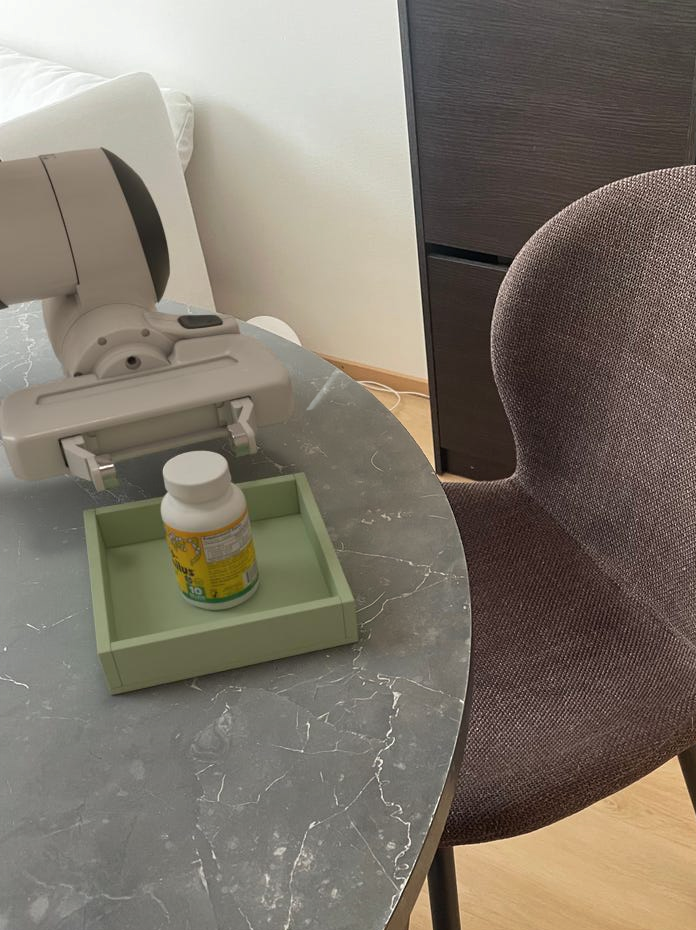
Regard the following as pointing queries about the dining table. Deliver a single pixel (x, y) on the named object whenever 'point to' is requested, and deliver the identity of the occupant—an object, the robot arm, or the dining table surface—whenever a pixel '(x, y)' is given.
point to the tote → (214, 631)
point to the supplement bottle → (208, 531)
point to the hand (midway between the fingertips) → (178, 463)
